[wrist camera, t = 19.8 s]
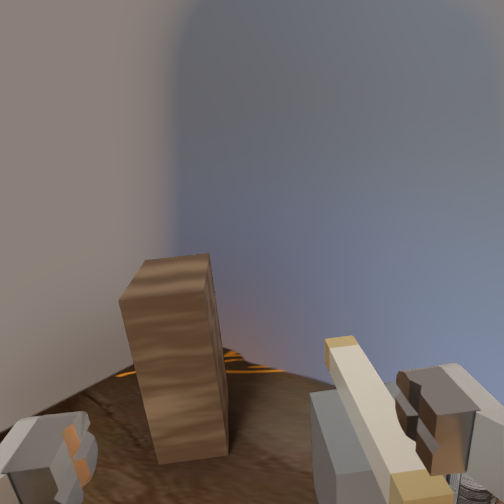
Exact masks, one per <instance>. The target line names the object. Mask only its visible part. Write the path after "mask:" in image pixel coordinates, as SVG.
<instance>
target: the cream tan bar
mask: <svg viewBox="0 0 504 504" xmlns="http://www.w3.org/2000/svg"><path fill="white" fill-rule="evenodd" d="M325 363H326V366H327V368H328V371H329V373H330V375H331V377H332V379H333V382H334V384H335V386H336V389H337V391H338V393H339V396H340V398H341V400H342V402H343V405H344V407H345V409H346V412H347V414H348V416H349V418H350V421H351V423H352V425H353V428H354V430H355V432H356V434H357V437H358V439H359V441H360V444H361V446H362V448H363V450H364V453H365V455H366V457H367V459H368V462H369V464H370V466H371V469H372V471H373V473H374V475H375V478H376V480H377V482H378V485H379V487H380V489H381V491H382V494H383V496H384V498H385V501H386V503H387V504H453V499H454V492H453V491H452V489H451V488H450V486H449V485H448V483H447V482H446V480H445V478H444V477H443V475H438V476H430V474H429V473H428V471H427V469H426V468H425V466H424V465H423V463H422V461H421V460H420V458H419V456H418V455H417V453H416V452H415V450H416V442H415V441H413V440H412V439H410V438H409V437H407V436H406V435H405V433H404V432H403V430H402V428H401V426H400V424H399V421H398V419H397V414H396V409H395V400H394V399H393V397H392V396H391V394H390V393H389V391H388V389H387V388H386V386H385V385H384V383H383V382H382V380H381V378H380V377H379V376H378V374H377V372H376V371H375V369H374V368H373V366H372V364H371V363H370V361H369V360H368V358H367V357H366V355H365V354H364V352H363V351H362V349H361V348H360V346H359V344H358V343H357V341H356V339H355V338H354V336H353V335H352V336H344V337H336V338H328V339H325Z"/></svg>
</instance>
